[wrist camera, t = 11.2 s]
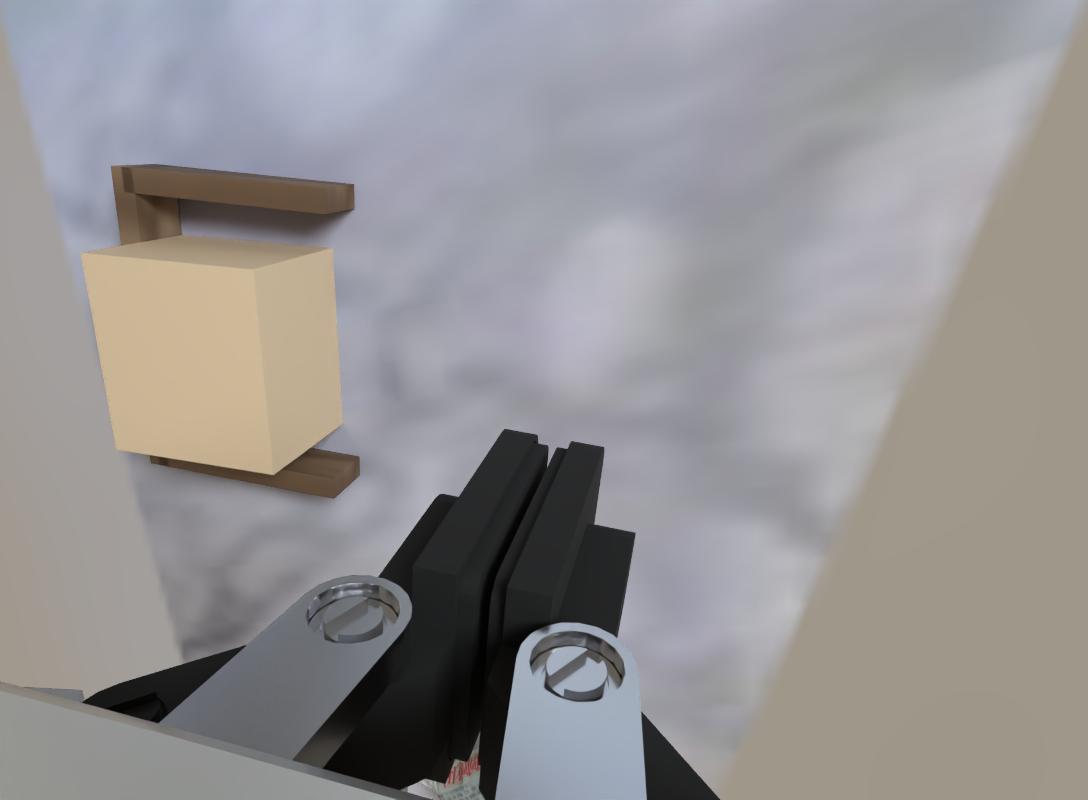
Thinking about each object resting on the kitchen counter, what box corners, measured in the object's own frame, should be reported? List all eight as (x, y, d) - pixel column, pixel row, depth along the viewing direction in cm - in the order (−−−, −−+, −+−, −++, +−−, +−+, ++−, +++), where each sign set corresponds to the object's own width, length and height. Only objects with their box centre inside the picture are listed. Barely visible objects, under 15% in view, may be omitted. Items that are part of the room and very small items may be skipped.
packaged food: (421, 735, 48) (390, 797, 43) (548, 658, 43) (528, 719, 39) (507, 822, 49) (486, 892, 44) (641, 757, 44) (632, 827, 40)
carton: (185, 234, 39) (80, 252, 33) (334, 247, 38) (253, 269, 31) (207, 403, 43) (116, 449, 37) (343, 422, 41) (273, 475, 35)
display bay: (154, 164, 38) (110, 165, 35) (353, 184, 36) (323, 187, 33) (186, 442, 44) (151, 462, 41) (359, 475, 42) (333, 498, 39)
